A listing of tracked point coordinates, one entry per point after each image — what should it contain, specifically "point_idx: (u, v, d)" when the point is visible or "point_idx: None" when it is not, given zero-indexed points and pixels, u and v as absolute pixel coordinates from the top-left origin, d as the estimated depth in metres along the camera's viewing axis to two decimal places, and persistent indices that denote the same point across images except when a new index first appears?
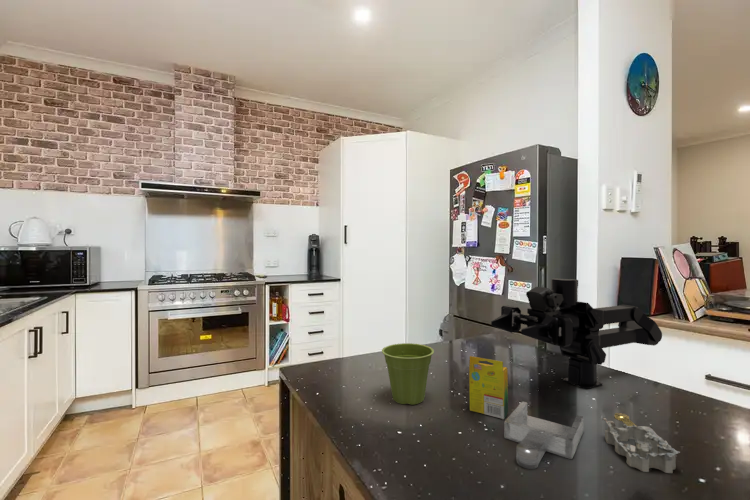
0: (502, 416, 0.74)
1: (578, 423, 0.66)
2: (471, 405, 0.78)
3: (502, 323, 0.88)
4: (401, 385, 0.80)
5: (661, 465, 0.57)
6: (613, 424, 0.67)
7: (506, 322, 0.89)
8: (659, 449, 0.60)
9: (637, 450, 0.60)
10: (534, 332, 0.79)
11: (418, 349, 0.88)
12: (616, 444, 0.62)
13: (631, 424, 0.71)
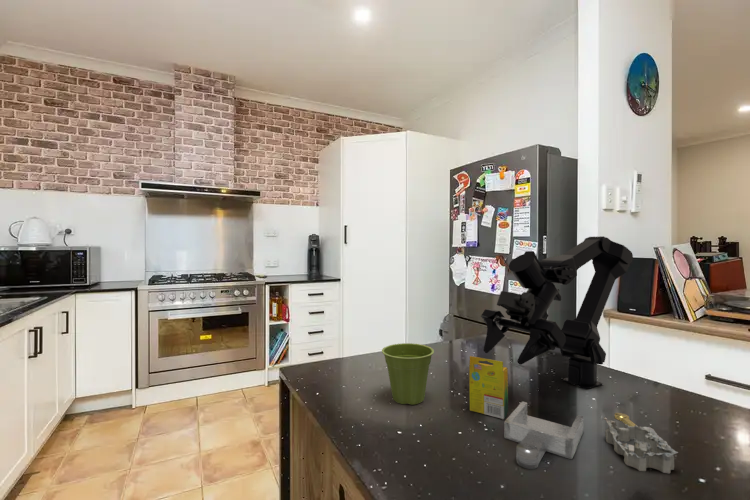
0: (502, 416, 0.74)
1: (578, 423, 0.66)
2: (471, 405, 0.78)
3: (493, 340, 0.84)
4: (401, 385, 0.80)
5: (659, 465, 0.57)
6: (614, 424, 0.67)
7: (495, 335, 0.85)
8: (658, 449, 0.60)
9: (636, 449, 0.60)
10: (529, 354, 0.75)
11: (418, 349, 0.88)
12: (615, 443, 0.62)
13: (631, 424, 0.71)
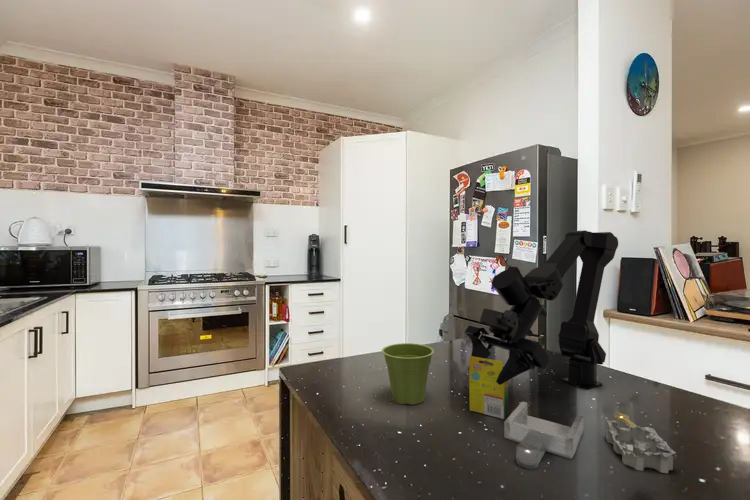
0: (502, 416, 0.74)
1: (578, 423, 0.66)
2: (471, 405, 0.78)
3: None
4: (401, 385, 0.80)
5: (657, 465, 0.57)
6: (615, 424, 0.67)
7: (480, 353, 0.82)
8: (657, 449, 0.59)
9: (634, 449, 0.60)
10: (508, 374, 0.73)
11: (418, 349, 0.88)
12: (614, 442, 0.62)
13: (631, 424, 0.71)
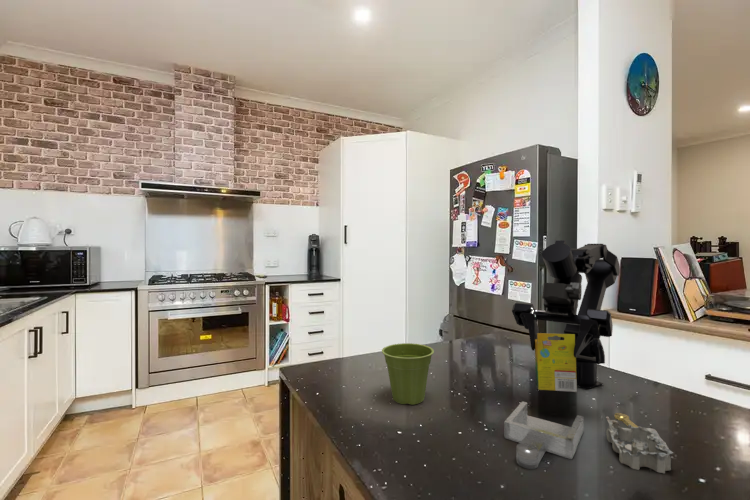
0: (575, 389, 0.73)
1: (578, 423, 0.66)
2: (540, 384, 0.75)
3: (535, 336, 0.79)
4: (401, 385, 0.80)
5: (654, 464, 0.57)
6: (617, 424, 0.67)
7: (536, 330, 0.80)
8: (656, 450, 0.59)
9: (632, 448, 0.60)
10: (582, 346, 0.73)
11: (418, 349, 0.88)
12: (613, 441, 0.63)
13: (631, 424, 0.71)
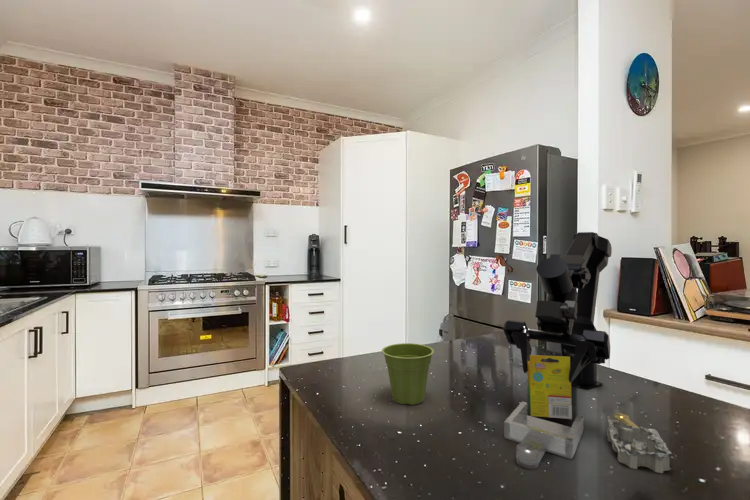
0: (570, 416, 0.68)
1: (578, 423, 0.66)
2: (533, 410, 0.69)
3: (528, 357, 0.73)
4: (401, 385, 0.80)
5: (652, 464, 0.57)
6: (618, 423, 0.67)
7: (528, 351, 0.74)
8: (656, 450, 0.59)
9: (631, 448, 0.60)
10: (578, 369, 0.67)
11: (418, 349, 0.88)
12: (612, 441, 0.63)
13: (631, 424, 0.71)
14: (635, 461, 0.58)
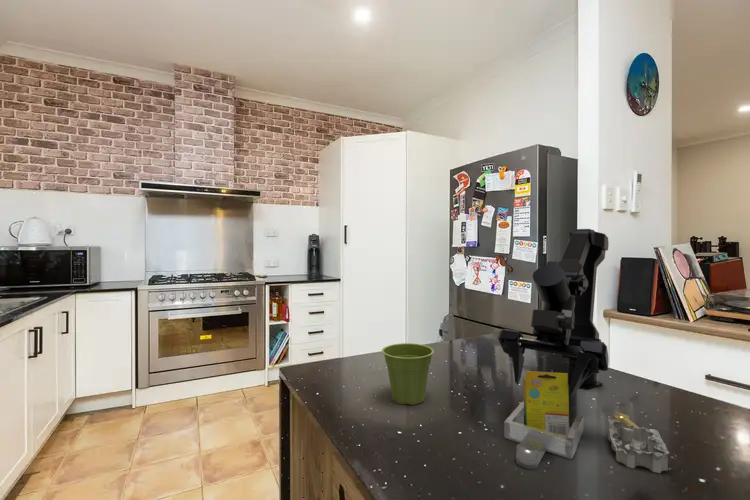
0: None
1: (578, 423, 0.66)
2: None
3: (520, 367, 0.71)
4: (401, 385, 0.80)
5: (650, 464, 0.57)
6: (619, 423, 0.67)
7: (520, 360, 0.72)
8: (654, 450, 0.59)
9: (630, 448, 0.60)
10: (579, 382, 0.65)
11: (418, 349, 0.88)
12: (611, 440, 0.63)
13: (631, 424, 0.71)
14: (632, 460, 0.58)
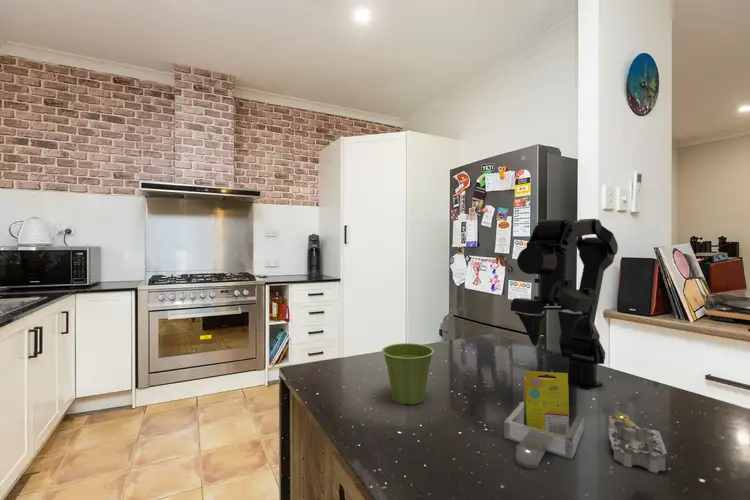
0: None
1: (578, 423, 0.66)
2: None
3: None
4: (401, 385, 0.80)
5: (647, 463, 0.58)
6: (621, 423, 0.67)
7: None
8: (653, 450, 0.59)
9: (628, 447, 0.61)
10: None
11: (418, 349, 0.88)
12: None
13: (631, 424, 0.71)
14: (629, 459, 0.58)
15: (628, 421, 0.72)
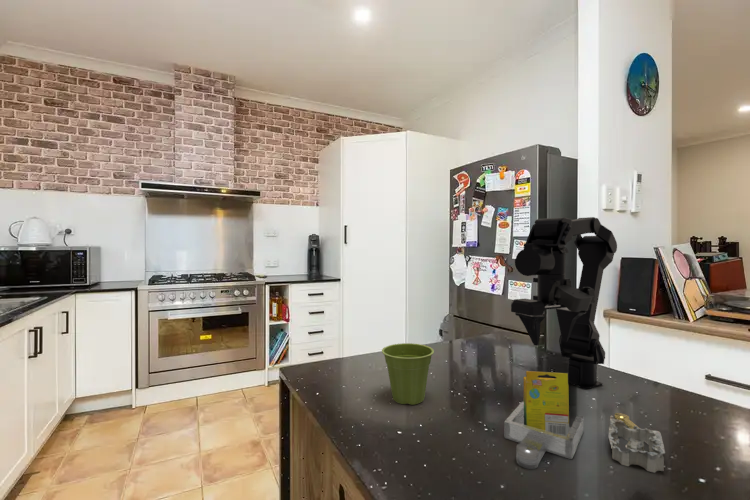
0: None
1: (578, 423, 0.66)
2: None
3: None
4: (401, 385, 0.80)
5: (645, 463, 0.58)
6: (622, 423, 0.67)
7: None
8: (652, 450, 0.59)
9: (627, 447, 0.61)
10: None
11: (418, 349, 0.88)
12: None
13: (631, 424, 0.71)
14: (627, 458, 0.58)
15: (628, 421, 0.72)
